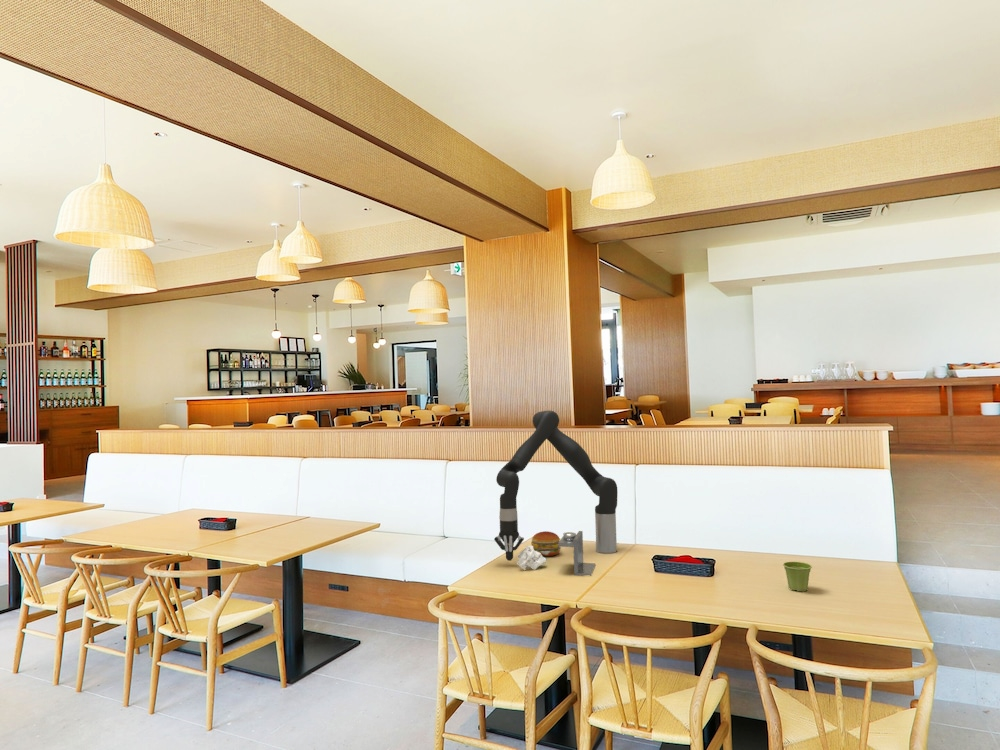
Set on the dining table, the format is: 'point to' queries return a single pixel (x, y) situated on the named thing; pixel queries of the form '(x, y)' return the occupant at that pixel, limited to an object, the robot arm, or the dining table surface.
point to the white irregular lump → (530, 558)
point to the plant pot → (797, 575)
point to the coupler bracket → (577, 552)
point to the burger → (546, 543)
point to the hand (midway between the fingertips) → (509, 560)
